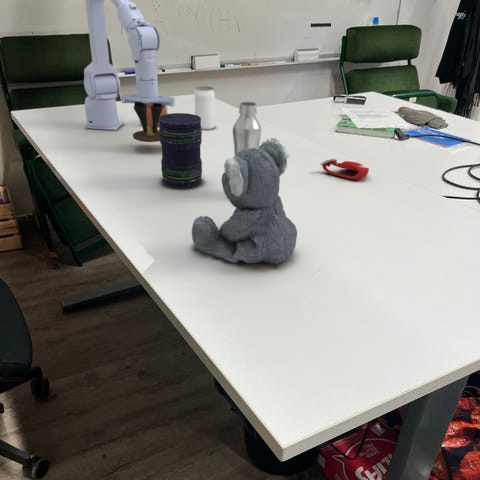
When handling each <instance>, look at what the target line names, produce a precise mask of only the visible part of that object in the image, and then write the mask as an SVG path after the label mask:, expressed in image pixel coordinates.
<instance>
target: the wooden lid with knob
mask: <svg viewBox="0 0 480 480" xmlns="http://www.w3.org/2000/svg"><path fill="white" fill-rule="evenodd" d="M146 130H147V132H144V131H143V129H142V130H138V131H135V132H134V133H132V138H133V139H134V140H136V141H139V142H144V143H156V142H160V135H159V129H158V130H157V132H156V133H153V125H146Z"/></svg>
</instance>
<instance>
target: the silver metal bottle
mask: <svg viewBox="0 0 480 480" xmlns="http://www.w3.org/2000/svg"><path fill="white" fill-rule="evenodd" d="M257 107H258V106H257V103H256V102H253V101H242V102H240V103H239V110H238V113H239V116H238V118H237V119H236V121H235V123H234V124H233V127H232V139H233V140H232V141H233V154H234V156H235V155H236V154H237V153H238V152H239V151H241V150H242V149H248V148H256V149H258V147H259V146H260V143H261V137H262V132H263V131H262V125H261V124H260V121H259V120H258V118H257V117H256V114H257ZM234 156H233V157H234Z"/></svg>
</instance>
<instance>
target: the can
mask: <svg viewBox="0 0 480 480" xmlns="http://www.w3.org/2000/svg"><path fill="white" fill-rule="evenodd" d="M215 109H216V94H215V91H214V87H212V86H206V85H205V86H203V85H202V86H196V87H195V91H194V115H197V116H199V117H200V118H201V123H200V124H201V130H202V131H207V130H212V129H214V128H215V124H216V123H215V121H216V120H215V119H216V118H215V117H216V110H215Z"/></svg>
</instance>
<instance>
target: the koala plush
mask: <svg viewBox="0 0 480 480" xmlns="http://www.w3.org/2000/svg"><path fill="white" fill-rule="evenodd" d="M234 155H235V154H234ZM290 156H291V155H290V154H289V153H288V151H287V150H286V147H285V146H284V145H283V143H282V142H281V141H280V140H279V139H276V137H271V138H270V139H269V138H267V139H266V140H263V141H262V142H261V144H259V147H258V149H256V148H248V149H242V150H241V151H239V152H238V153H237V154H236V155H235V156H232V157H228V158H226V159H225V161H224V163H223V168H224V169H223V170H224V172H223V174H222V176H221V185H222V190H223V192H224V194H225V196H226V198H227V200H228V201H229V202H230V204H231V205H232V206H233V207H234V208H235V209H234V210H233V212H232V215H230V216H229V218H228V219H227V220H225V221H224V222H223V223H222V224H221V226H220V227H218V226H217V224H216V222H215V221H214V219H213V218H211V217H209V216H207V215H205V216H203V215H199V216H197V217H196V218H195V219H193V220H194V221H193V222H192V227H191V238H192V239H191V240H192V242H193V244H194V245H195V247H196V249H197V250H199V251H200V252H202V253H204V254H207V255H210V256H213V257H218V258H220V259H223V260H224V261H227V262H228V263H232V264H237V263H239V262H240V261H242V262H244V263H246V264H255V263H259V262H265V263H268V264H275V265H278V264H280V263H283V262H285V261H286V260H287V259H288V258H289V257H291V256H292V255H293V253H294V251H295V249H296V246H297V245H296V244H297V238H298V230H297V227H296V225H295V224H294V222H293V221H292V220H291V219H290V218H289V217H287V215H286V211H285V210H284V205H283V201H282V198H281V196H280V195H279V192H280V183H281V178H280V177H281V176H282V175H284V174H285V172H286V170H287V168H288V159H289V157H290Z"/></svg>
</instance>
